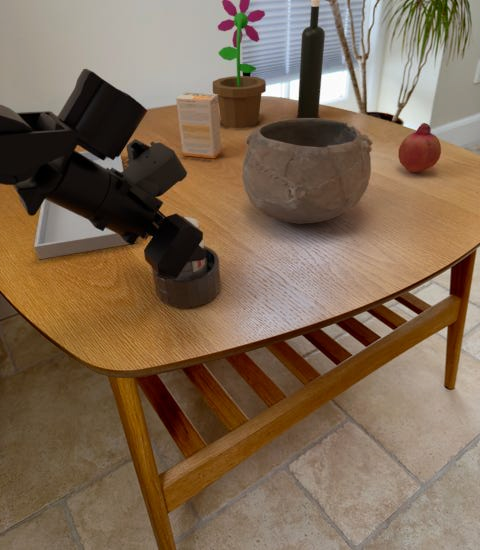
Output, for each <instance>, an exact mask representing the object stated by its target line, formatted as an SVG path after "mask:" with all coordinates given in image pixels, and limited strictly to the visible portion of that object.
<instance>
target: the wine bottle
mask: <svg viewBox="0 0 480 550" xmlns="http://www.w3.org/2000/svg"><path fill="white" fill-rule="evenodd" d="M320 7H321V0H310V21H309V26H307V27H305V28H304V29H303V30H302V33H301V42H300V43H301V45H300V60H299V61H300V64H299V82H298V102H297V119H299V118H319V112H320V99H321V88H322V76H323V75H322V74H323V63H324V50H325V40H326V39H325V37H326V31H325V30H324V29H323V28H322V26H319V17H320V15H319V14H320Z"/></svg>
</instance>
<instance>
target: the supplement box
mask: <svg viewBox="0 0 480 550" xmlns="http://www.w3.org/2000/svg"><path fill="white" fill-rule="evenodd" d="M175 100H176V107H177V115H178V125H179V134H180V142H181V150H182V156H184V157H195V158H204V159H216V158H217V157H218V156H219V155H220V154H221V153H222V138H221V137H222V136H221V121H220V109H219V103H218V94H214V93H201V92H199V93H198V92H183V93H182V94H180V95H179V96H177V97H176V98H175Z"/></svg>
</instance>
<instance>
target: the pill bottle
mask: <svg viewBox="0 0 480 550" xmlns="http://www.w3.org/2000/svg"><path fill="white" fill-rule="evenodd" d="M183 217H184V218H185V219H186V220H188V221H189V222H191V223H192V224H193V225H194V226H196V227H197V228H198V229H199V230H201V229H200V224H199V221H198V220H197V219H196V218H193V217H191V216H183ZM199 245H200V246H201V247H202V248H203V249H204V250H205V247H206V245H205V240H204V239H203V240H202V241H201V243H200V244H199ZM207 273H208V272H207V262H206V257H205V258H204V260H200V261H192V262H187V264H186V265H185V267H184V268H183V270H182V271H181V273H180V274H179V276H178V277H177V278H176V279H173V280H191V279H196V278H199V277H201V276H204V275H205V274H207ZM167 279H168V278H167Z"/></svg>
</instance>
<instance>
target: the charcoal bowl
mask: <svg viewBox="0 0 480 550" xmlns="http://www.w3.org/2000/svg"><path fill="white" fill-rule="evenodd" d="M205 251H206V252H207V255H206V262H207V272H208V273H207V274H205V275H204V276H201V277H199V278H196V279H191V280H170V279H167V278H166V277H163V276H161V275H159V274H158V273H157V272H156V271H155V270H154V269H153V268H152V267H151V272H152V277H153V281H154V282H153V284H154V288H155V289H154V290H155V293H156V294H155V295H156V296H157V298H158V299H159V301H161V302H162V303H163V304H165V305H168V306H170V307H175V308H179V309H180V308H181V309H183V308H184V309H185V308H195V307H198V306H202V305H204V304H206V303H209V302H210V301H212V300H213V299H214V298H216V297H217V295H218V294H219V292H220V290H221V281H222V280H221V268H220V267H221V265H220V258H219V256H218V253H217V252H215V251H214V250H213V249H212V248H210V247H207V246H205Z"/></svg>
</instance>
